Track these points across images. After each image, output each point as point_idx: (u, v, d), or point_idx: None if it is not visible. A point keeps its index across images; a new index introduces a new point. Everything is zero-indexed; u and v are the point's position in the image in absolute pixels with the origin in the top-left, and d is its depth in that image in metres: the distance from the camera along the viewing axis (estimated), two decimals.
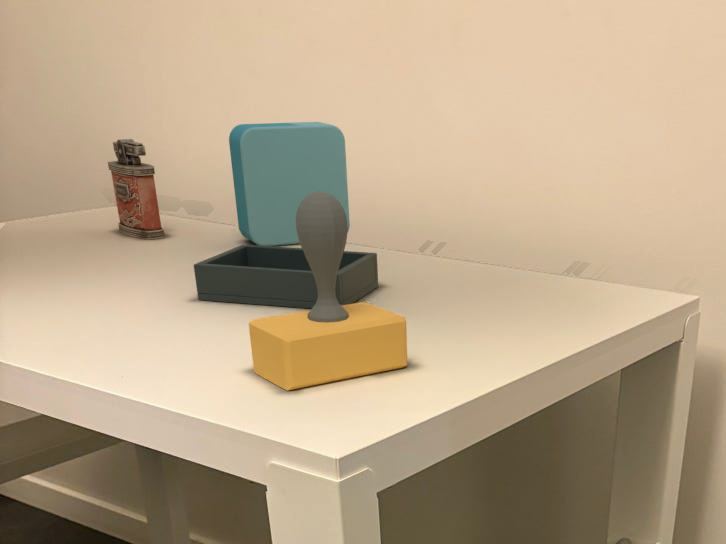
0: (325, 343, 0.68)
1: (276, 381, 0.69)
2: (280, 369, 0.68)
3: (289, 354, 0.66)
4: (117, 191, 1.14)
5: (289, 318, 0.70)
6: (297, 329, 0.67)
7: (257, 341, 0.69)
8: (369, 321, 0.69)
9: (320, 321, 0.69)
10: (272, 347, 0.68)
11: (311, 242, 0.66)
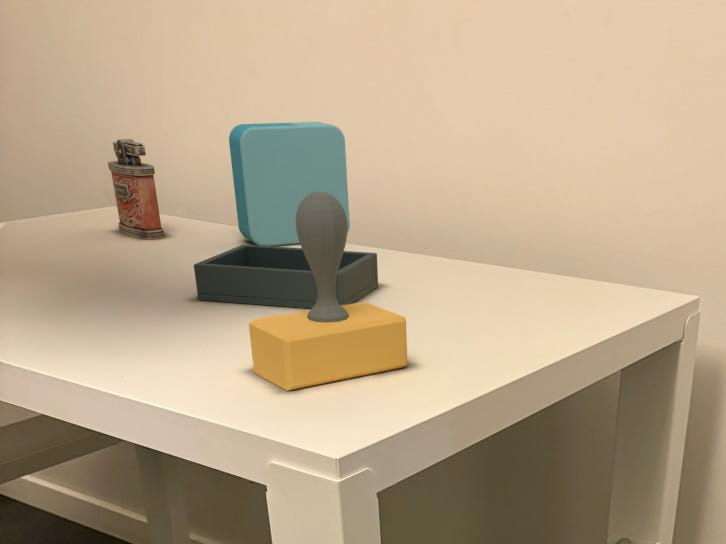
0: (325, 343, 0.68)
1: (276, 381, 0.69)
2: (280, 369, 0.68)
3: (289, 354, 0.66)
4: (117, 191, 1.14)
5: (289, 318, 0.70)
6: (297, 329, 0.67)
7: (257, 341, 0.69)
8: (369, 321, 0.69)
9: (320, 321, 0.69)
10: (272, 347, 0.68)
11: (311, 243, 0.66)
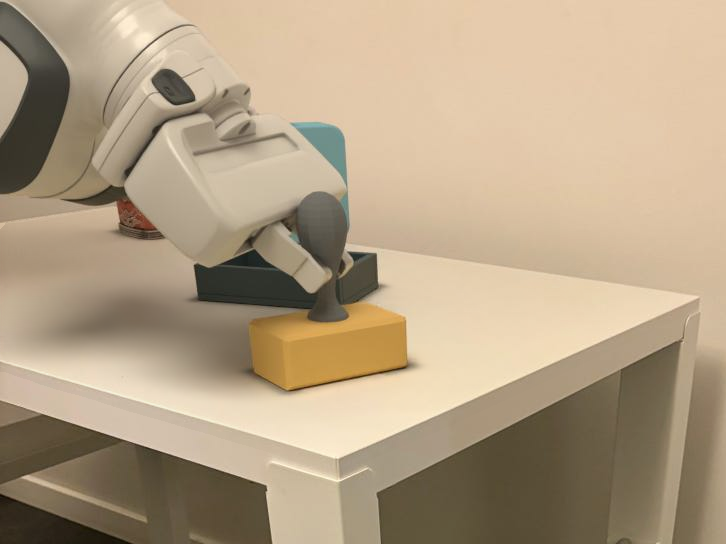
0: (325, 343, 0.68)
1: (276, 381, 0.69)
2: (280, 369, 0.68)
3: (289, 354, 0.66)
4: None
5: (289, 318, 0.70)
6: (297, 329, 0.67)
7: (257, 341, 0.69)
8: (369, 321, 0.69)
9: (320, 321, 0.69)
10: (272, 347, 0.68)
11: (311, 242, 0.66)
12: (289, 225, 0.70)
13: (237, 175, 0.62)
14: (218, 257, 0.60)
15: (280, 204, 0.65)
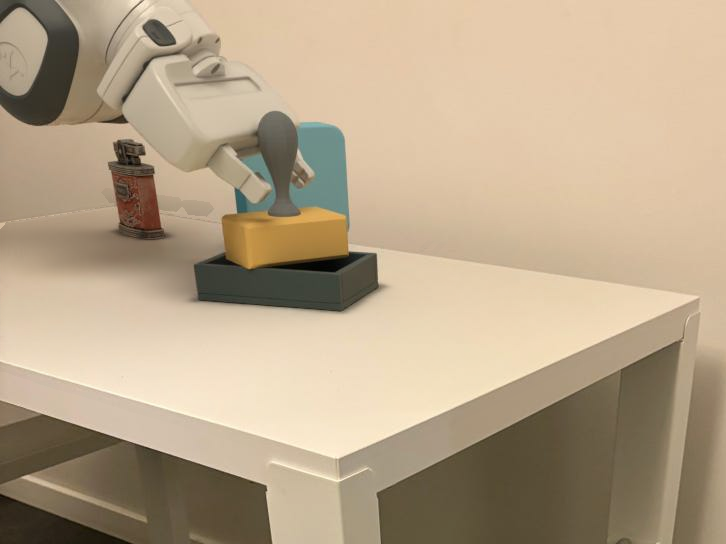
0: (279, 231, 0.86)
1: (241, 262, 0.87)
2: (244, 251, 0.86)
3: (249, 238, 0.85)
4: (117, 191, 1.14)
5: (253, 214, 0.88)
6: (257, 220, 0.86)
7: (227, 231, 0.88)
8: (316, 217, 0.88)
9: (277, 216, 0.88)
10: (237, 234, 0.86)
11: (268, 151, 0.85)
12: None
13: (208, 103, 0.81)
14: (193, 164, 0.79)
15: (243, 127, 0.83)
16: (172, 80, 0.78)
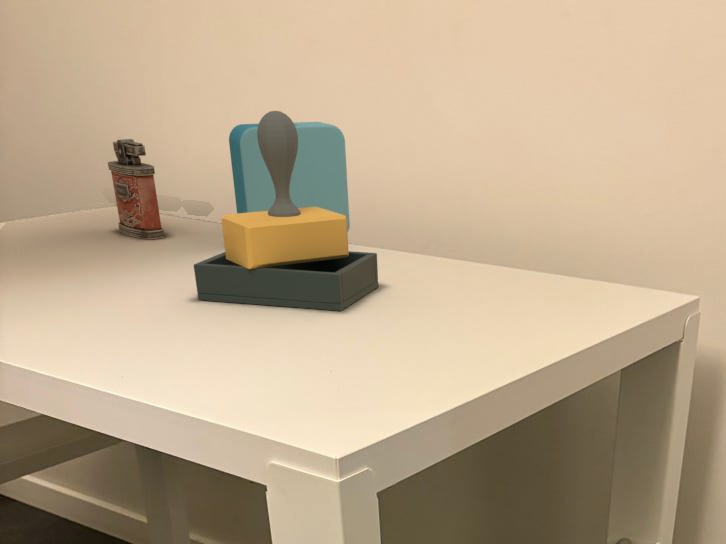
0: (279, 231, 0.86)
1: (241, 262, 0.87)
2: (244, 251, 0.86)
3: (249, 238, 0.85)
4: (117, 191, 1.14)
5: (253, 214, 0.88)
6: (257, 220, 0.86)
7: (227, 231, 0.88)
8: (316, 217, 0.88)
9: (277, 216, 0.88)
10: (237, 234, 0.86)
11: (268, 151, 0.85)
12: None
13: None
14: None
15: None
16: None
